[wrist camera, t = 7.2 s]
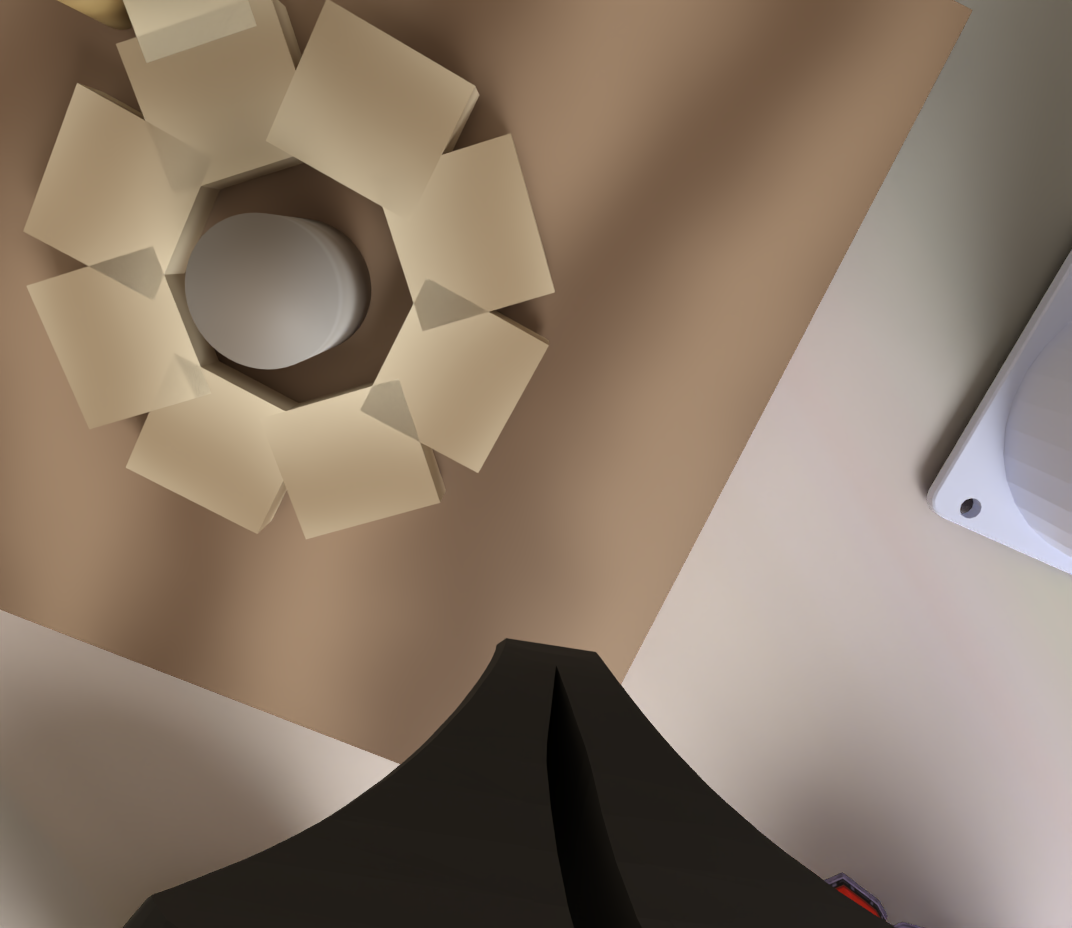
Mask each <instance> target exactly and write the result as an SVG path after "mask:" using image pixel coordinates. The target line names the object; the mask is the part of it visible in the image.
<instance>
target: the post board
mask: <svg viewBox="0 0 1072 928" xmlns="http://www.w3.org/2000/svg"><path fill="white" fill-rule="evenodd" d="M279 1H280V2H281V3H282V4H283V5H284V6H285V7H286V10H287V13H288V16H289V19H290V22H291V25H292V28H293V31H294V34H295V37H296V40H297V43H298V46H299V49H300V52H301V55H303V53H304V50H305V48H306V46H307V43H308V41H309V39H310V36H311V34H312V32H313V29H314V27H315V25H316V22H317V20H318V18H319V15H320V13H321V11H322V8H323V6H324V4H325V1H326V0H279ZM330 1H332V2H334V3H336V4H337V5H339V6H341V7H342V8H344V9H346V10H347V11H349V12H351V13H352V14H354V15H356V16H358V17H359V18H361V19H363V20H364V21H366V22H368V23H369V24H371V25H373V26H375V27H376V28H378V29H380V30H381V31H383V32H385V33H386V34H388V35H390V36H391V37H393V38H395V39H397V40H398V41H400V42H402V43H403V44H405V45H407V46H408V47H410V48H412V49H414V50H415V51H417V52H419V53H420V54H422V55H424V56H425V57H427V58H429V59H430V60H432V61H434V62H436V63H437V64H439V65H441V66H442V67H444V68H446V69H447V70H449V71H451V72H453V73H454V74H456V75H458V76H459V77H461V78H463V79H464V80H466V81H468V82H469V83H471V84H473V85H475V87H476V89H477V91H478V93H479V97H478V100H477V102H476V104H475V106H474V108H473V110H472V112H471V114H470V116H469V118H468V120H467V122H466V124H465V126H464V128H463V130H462V132H461V134H460V136H459V138H458V140H457V142H456V145H455V147H454V149H453V151H456V150H459V149H462V148H465V147H469V146H472V145H475V144H478V143H481V142H484V141H488V140H491V139H494V138H497V137H500V136H503V135H507V134H510V133H511V135H512V138H513V141H514V145H515V148H516V152H517V156H518V159H519V163H520V166H521V170H522V174H523V177H524V181H525V184H526V188H527V192H528V195H529V199H530V202H531V206H532V210H533V213H534V217H535V220H536V224H537V228H538V231H539V235H540V238H541V242H542V246H543V249H544V253H545V256H546V260H547V264H548V267H549V271H550V274H551V278H552V282H553V285H554V289H555V292H554V293H551V294H547V295H544V296H541V297H537V298H534V299H530V300H527V301H524V302H520V303H517V304H514V305H510V306H507V307H503V308H500V309H497V310H495V311H497V312H499V313H501V314H503V315H504V316H506V317H508V318H510V319H512V320H513V321H515V322H517V323H519V324H520V325H522V326H524V327H526V328H528V329H529V330H531V331H533V332H535V333H537V334H538V335H540V336H542V337H544V338H546V339H547V340H549V346H548V348H547V350H546V352H545V353H544V355H543V357H542V359H541V361H540V363H539V364H538V366H537V368H536V370H535V372H534V373H533V375H532V377H531V379H530V381H529V382H528V384H527V386H526V388H525V390H524V391H523V393H522V395H521V397H520V399H519V400H518V402H517V404H516V406H515V408H514V410H513V411H512V413H511V415H510V417H509V419H508V420H507V422H506V424H505V426H504V428H503V429H502V431H501V433H500V435H499V437H498V438H497V440H496V442H495V444H494V446H493V448H492V449H491V451H490V453H489V455H488V457H487V458H486V460H485V462H484V464H483V466H482V467H481V469H480V471H479V473H477V472H475V471H473V470H471V469H469V468H468V467H466V466H464V465H462V464H460V463H458V462H456V461H454V460H453V459H451V458H449V457H447V456H445V455H443V454H441V453H439V452H437V451H436V450H434V449H432V450H433V453H434V456H435V459H436V462H437V465H438V468H439V471H440V474H441V477H442V480H443V483H444V486H445V489H446V491H445V493H444V495H443V498H442V500H441V502H440V503H437V504H434V505H430V506H426V507H423V508H419V509H415V510H412V511H408V512H404V513H401V514H397V515H393V516H390V517H386V518H382V519H379V520H375V521H371V522H368V523H364V524H361V525H357V526H353V527H350V528H346V529H342V530H339V531H335V532H331V533H328V534H324V535H320V536H317V537H313V538H309V539H306V538H305V536H304V533H303V531H302V528H301V525H300V523H299V520H298V518H297V515H296V512H295V510H294V507H293V505H292V502H291V499H290V497H289V494H288V491H287V490H286V492H285V494H284V496H283V498H282V501H281V503H280V505H279V507H278V509H277V511H276V513H275V515H274V517H273V519H272V521H271V522H269V523H268V524H267V525H266V526H265V527H264V528H263V529H262V530H261V531H260V532H259V533H258V534H256V533H254V532H252V531H250V530H248V529H246V528H244V527H242V526H240V525H238V524H236V523H234V522H232V521H230V520H228V519H226V518H224V517H222V516H221V515H219V514H217V513H215V512H213V511H211V510H209V509H207V508H205V507H203V506H201V505H199V504H197V503H195V502H193V501H191V500H189V499H187V498H185V497H183V496H181V495H179V494H177V493H175V492H173V491H171V490H169V489H167V488H165V487H163V486H161V485H159V484H157V483H155V482H153V481H151V480H149V479H147V478H145V477H143V476H141V475H139V474H137V473H135V472H133V471H131V470H129V469H127V468H126V465H127V463H128V461H129V458H130V456H131V454H132V451H133V449H134V447H135V444H136V442H137V440H138V437H139V435H140V433H141V430H142V428H143V426H144V423H145V421H146V419H147V416H148V414H149V412H147V413H143V414H140V415H137V416H133V417H130V418H126V419H123V420H120V421H116V422H113V423H110V424H106V425H103V426H99V427H96V428H93V429H89V427H88V425H87V423H86V421H85V418H84V416H83V414H82V412H81V409H80V407H79V405H78V402H77V400H76V398H75V396H74V393H73V391H72V389H71V387H70V384H69V382H68V380H67V377H66V375H65V373H64V371H63V368H62V366H61V364H60V361H59V359H58V357H57V355H56V352H55V350H54V348H53V346H52V343H51V341H50V339H49V336H48V334H47V332H46V330H45V327H44V325H43V323H42V321H41V318H40V316H39V314H38V311H37V309H36V307H35V305H34V302H33V300H32V298H31V296H30V293H29V291H28V289H27V285H30V284H34V283H37V282H40V281H43V280H46V279H49V278H53V277H56V276H59V275H62V274H65V273H69V272H72V271H75V270H78V269H81V268H84V267H88V266H87V265H86V264H84V263H82V262H80V261H78V260H76V259H74V258H72V257H71V256H69V255H67V254H65V253H63V252H61V251H59V250H57V249H55V248H54V247H52V246H50V245H48V244H46V243H44V242H42V241H40V240H39V239H37V238H35V237H33V236H31V235H29V234H27V233H25V232H23V231H24V228H25V225H26V222H27V220H28V217H29V214H30V211H31V209H32V206H33V203H34V200H35V198H36V195H37V192H38V189H39V187H40V184H41V181H42V178H43V175H44V173H45V170H46V167H47V164H48V162H49V159H50V156H51V153H52V151H53V148H54V145H55V142H56V140H57V137H58V134H59V131H60V129H61V126H62V123H63V120H64V118H65V115H66V112H67V109H68V107H69V104H70V101H71V98H72V96H73V93H74V90H75V87H76V85H77V83H79V84H82V85H85V86H88V87H90V88H93V89H96V90H99V91H102V92H104V93H106V94H108V95H110V96H111V97H113V98H115V99H117V100H119V101H120V102H122V103H124V104H126V105H128V106H129V107H131V108H133V109H135V110H137V111H138V112H140V113H142V111H141V108H140V106H139V103H138V101H137V98H136V95H135V93H134V90H133V88H132V85H131V82H130V80H129V77H128V75H127V72H126V69H125V67H124V64H123V62H122V59H121V56H120V54H119V51H118V48H117V46H116V44H117V43H120V42H123V41H126V40H129V39H132V38H135V37H137V36H136V34H135V31H134V28H133V26H132V23H131V20H130V18H129V15H128V12H127V10H126V7H125V5H124V2H123V0H0V610H3V611H6V612H8V613H11V614H13V615H16V616H18V617H21V618H24V619H26V620H29V621H31V622H34V623H37V624H39V625H42V626H44V627H47V628H50V629H52V630H55V631H57V632H60V633H62V634H65V635H68V636H70V637H73V638H75V639H78V640H81V641H83V642H86V643H88V644H91V645H94V646H96V647H99V648H101V649H104V650H106V651H109V652H112V653H114V654H117V655H119V656H122V657H125V658H127V659H130V660H132V661H135V662H138V663H140V664H143V665H145V666H148V667H150V668H153V669H156V670H158V671H161V672H163V673H166V674H169V675H171V676H174V677H176V678H179V679H182V680H184V681H187V682H189V683H192V684H194V685H197V686H200V687H202V688H205V689H207V690H210V691H213V692H215V693H218V694H220V695H223V696H226V697H228V698H231V699H233V700H236V701H238V702H241V703H244V704H246V705H249V706H251V707H254V708H257V709H259V710H262V711H264V712H267V713H270V714H272V715H275V716H277V717H280V718H282V719H285V720H288V721H290V722H293V723H295V724H298V725H301V726H303V727H306V728H308V729H311V730H314V731H316V732H319V733H321V734H324V735H326V736H329V737H332V738H334V739H337V740H339V741H342V742H345V743H347V744H350V745H352V746H355V747H358V748H360V749H363V750H365V751H368V752H370V753H373V754H376V755H378V756H381V757H383V758H386V759H389V760H391V761H394V762H396V763H399V764H402V763H403V762H404V761H405V760H406V759H407V758H409V757H410V756H411V755H412V754H413V753H414V752H415V751H416V750H417V749H418V748H419V747H421V746H422V745H423V744H424V743H425V742H426V741H427V740H428V739H429V738H430V737H431V736H432V735H433V733H434V732H435V731H436V730H437V729H438V728H439V727H440V726H441V725H442V724H443V723H444V722H445V721H446V720H447V718H448V717H449V716H450V715H451V714H452V713H453V712H454V711H455V710H456V709H457V707H458V706H459V705H460V704H461V702H462V701H463V700H464V698H465V697H466V696H467V695H468V693H469V692H470V691H471V689H472V688H473V687H474V685H475V684H476V683H477V682H478V680H479V679H480V677H481V676H482V674H483V672H484V671H485V669H486V668H487V666H488V664H489V663H490V661H491V659H492V657H493V655H494V652H495V650H496V645H497V644H498V643H500V642H501V641H503V640H504V639H506V638H509V639H516V640H522V641H529V642H535V643H542V644H548V645H555V646H561V647H568V648H574V649H581V650H587V651H594V652H597V654H598V655H599V656H600V657H601V659H602V660H603V661H604V663H605V664H606V665H607V667H608V668H609V669H610V671H611V672H612V674H613V675H614V676H615V678H616V679H617V680H618V682H619V683H620V684H621V683H622V681H623V680H624V678H625V676H626V674H627V672H628V670H629V668H630V666H631V664H632V662H633V660H634V658H635V657H636V655H637V653H638V651H639V649H640V647H641V645H642V643H643V641H644V639H645V637H646V635H647V634H648V632H649V630H650V628H651V626H652V624H653V622H654V620H655V618H656V616H657V614H658V612H659V611H660V609H661V607H662V605H663V603H664V601H665V599H666V597H667V595H668V593H669V591H670V589H671V588H672V586H673V584H674V582H675V580H676V578H677V576H678V574H679V572H680V570H681V568H682V566H683V565H684V563H685V561H686V559H687V557H688V555H689V553H690V551H691V549H692V547H693V545H694V543H695V542H696V540H697V538H698V536H699V534H700V532H701V530H702V528H703V526H704V524H705V522H706V520H707V519H708V517H709V515H710V513H711V511H712V509H713V507H714V505H715V503H716V501H717V499H718V497H719V496H720V494H721V492H722V490H723V488H724V486H725V484H726V482H727V480H728V478H729V476H730V474H731V472H732V471H733V469H734V467H735V465H736V463H737V461H738V459H739V457H740V455H741V453H742V451H743V449H744V448H745V446H746V444H747V442H748V440H749V438H750V436H751V434H752V432H753V430H754V428H755V426H756V425H757V423H758V421H759V419H760V417H761V415H762V413H763V411H764V409H765V407H766V405H767V403H768V402H769V400H770V398H771V396H772V394H773V392H774V390H775V388H776V386H777V384H778V382H779V380H780V379H781V377H782V375H783V373H784V371H785V369H786V367H787V365H788V363H789V361H790V359H791V357H792V356H793V354H794V352H795V350H796V348H797V346H798V344H799V342H800V340H801V338H802V336H803V334H804V333H805V331H806V329H807V327H808V325H809V323H810V321H811V319H812V317H813V315H814V313H815V311H816V310H817V308H818V306H819V304H820V302H821V300H822V298H823V296H824V294H825V292H826V290H827V288H828V287H829V285H830V283H831V281H832V279H833V277H834V275H835V273H836V271H837V269H838V267H839V265H840V264H841V262H842V260H843V258H844V256H845V254H846V252H847V250H848V248H849V246H850V244H851V242H852V241H853V239H854V237H855V235H856V233H857V231H858V229H859V227H860V225H861V223H862V221H863V219H864V218H865V216H866V214H867V212H868V210H869V208H870V206H871V204H872V202H873V200H874V198H875V196H876V195H877V193H878V191H879V189H880V187H881V185H882V183H883V181H884V179H885V177H886V175H887V173H888V172H889V170H890V168H891V166H892V164H893V162H894V160H895V158H896V156H897V154H898V152H899V150H900V149H901V147H902V145H903V143H904V141H905V139H906V137H907V135H908V133H909V131H910V129H911V127H912V126H913V124H914V122H915V120H916V118H917V116H918V114H919V112H920V110H921V108H922V106H923V104H924V103H925V101H926V99H927V97H928V95H929V93H930V91H931V89H932V87H933V85H934V83H935V81H936V80H937V78H938V76H939V74H940V72H941V70H942V68H943V66H944V64H945V62H946V60H947V58H948V57H949V55H950V53H951V51H952V49H953V47H954V45H955V43H956V41H957V39H958V37H959V35H960V34H961V32H962V30H963V28H964V26H965V24H966V22H967V20H968V18H969V16H970V14H971V12H972V11H973V10H971V9H969V8H967V7H966V6H964V5H962V4H960V3H958V2H956V1H954V0H330ZM453 151H452V152H453ZM185 294H186V300H187V304H188V308H189V311H190V314H191V316H192V319H193V321H194V323H195V325H196V326H197V328H198V330H199V331H200V333H201V334H202V335H203V337H204V338H205V339H206V340H207V341H208V342H209V344H210V345H211V346H212V347H214V350H215V352H216V355H217V357H218V360H219V361H220V362H222V363H224V364H226V365H227V366H229V367H231V368H233V369H235V370H237V371H239V372H241V373H243V374H244V375H246V376H248V377H250V378H252V379H254V380H256V381H258V382H260V383H262V384H263V385H265V386H267V387H269V388H271V389H273V390H275V391H277V392H279V393H281V394H282V395H284V396H286V397H288V398H290V399H292V400H294V401H296V402H298V403H301V402H305V401H308V400H312V399H315V398H319V397H322V396H326V395H329V394H333V393H336V392H339V391H343V390H346V389H350V388H353V387H357V386H360V385H364V384H367V383H370V382H374V381H375V380H376V378H377V376H378V374H379V372H380V370H381V368H382V366H383V364H384V362H385V360H386V358H387V356H388V354H389V352H390V350H391V348H392V346H393V344H394V342H395V340H396V338H397V336H398V334H399V332H400V330H401V328H402V326H403V324H404V322H405V320H406V318H407V316H408V314H409V312H410V310H411V308H412V306H413V304H414V303H413V300H412V297H411V293H410V290H409V287H408V284H407V281H406V278H405V275H404V272H403V269H402V265H401V262H400V259H399V256H398V253H397V250H396V247H395V244H394V241H393V238H392V234H391V231H390V228H389V225H388V222H387V219H386V216H385V213H384V210H383V207H382V206H380V205H379V204H377V203H375V202H373V201H372V200H370V199H368V198H366V197H364V196H363V195H361V194H359V193H357V192H356V191H354V190H352V189H350V188H348V187H347V186H345V185H343V184H341V183H340V182H338V181H336V180H334V179H333V178H331V177H329V176H327V175H325V174H324V173H322V172H320V171H318V170H317V169H315V168H313V167H311V166H309V165H308V164H306V163H302V164H299V165H295V166H292V167H289V168H286V169H283V170H280V171H277V172H273V173H270V174H267V175H264V176H261V177H258V178H255V179H252V180H248V181H245V182H242V183H239V184H236V185H233V186H230V187H227V188H223V189H220V191H219V193H218V196H217V198H216V200H215V203H214V205H213V208H212V210H211V212H210V215H209V217H208V219H207V222H206V224H205V227H204V229H203V231H202V234H201V236H200V238H199V241H198V242H197V244H196V245H195V247H194V249H193V251H192V253H191V255H190V258H189V260H188V264H187V268H186V272H185Z"/></svg>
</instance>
